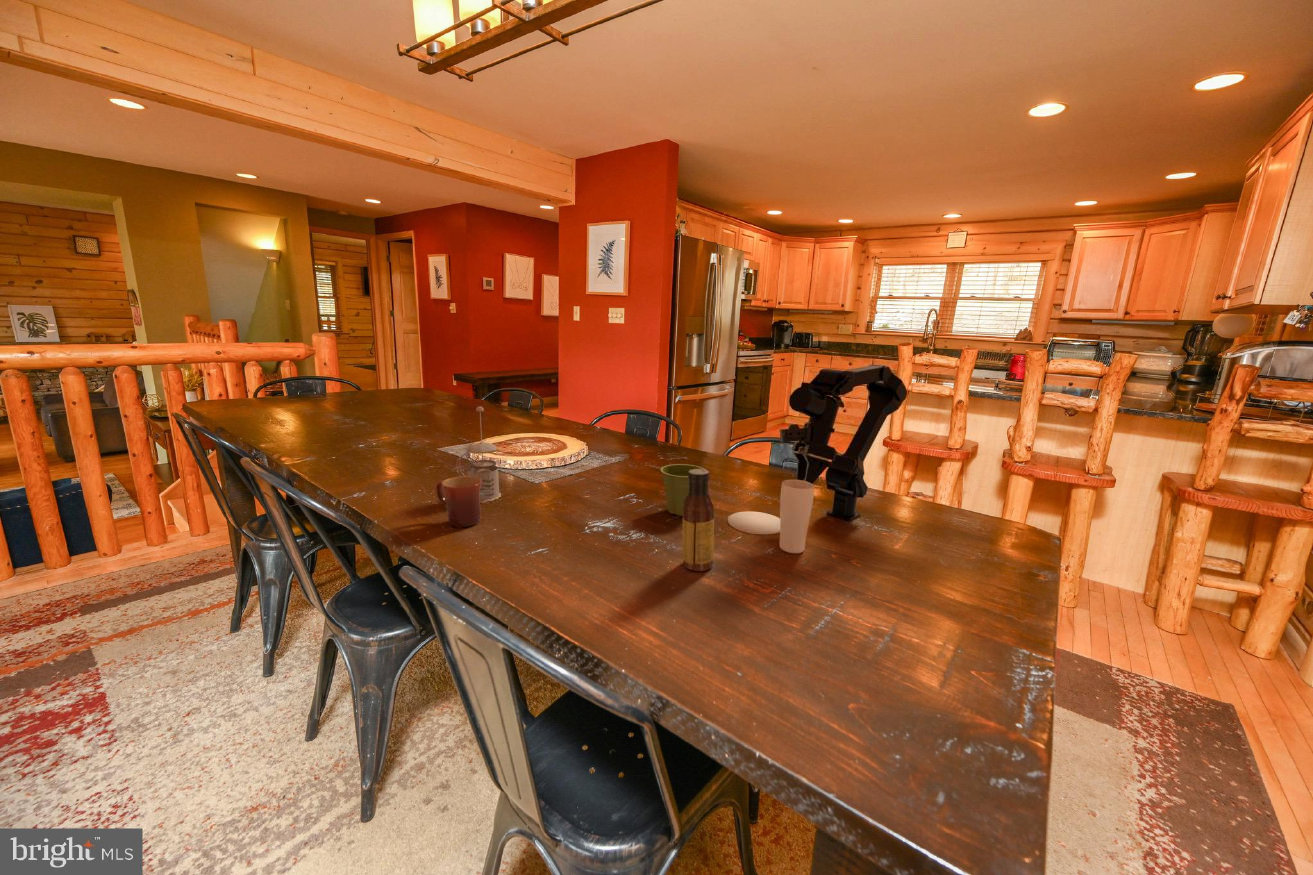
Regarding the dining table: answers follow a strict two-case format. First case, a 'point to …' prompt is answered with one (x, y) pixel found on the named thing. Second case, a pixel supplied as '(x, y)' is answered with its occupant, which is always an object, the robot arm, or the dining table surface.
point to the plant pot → (676, 485)
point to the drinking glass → (795, 514)
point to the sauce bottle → (698, 523)
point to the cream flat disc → (755, 522)
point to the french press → (480, 448)
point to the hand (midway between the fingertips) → (802, 484)
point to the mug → (461, 500)
